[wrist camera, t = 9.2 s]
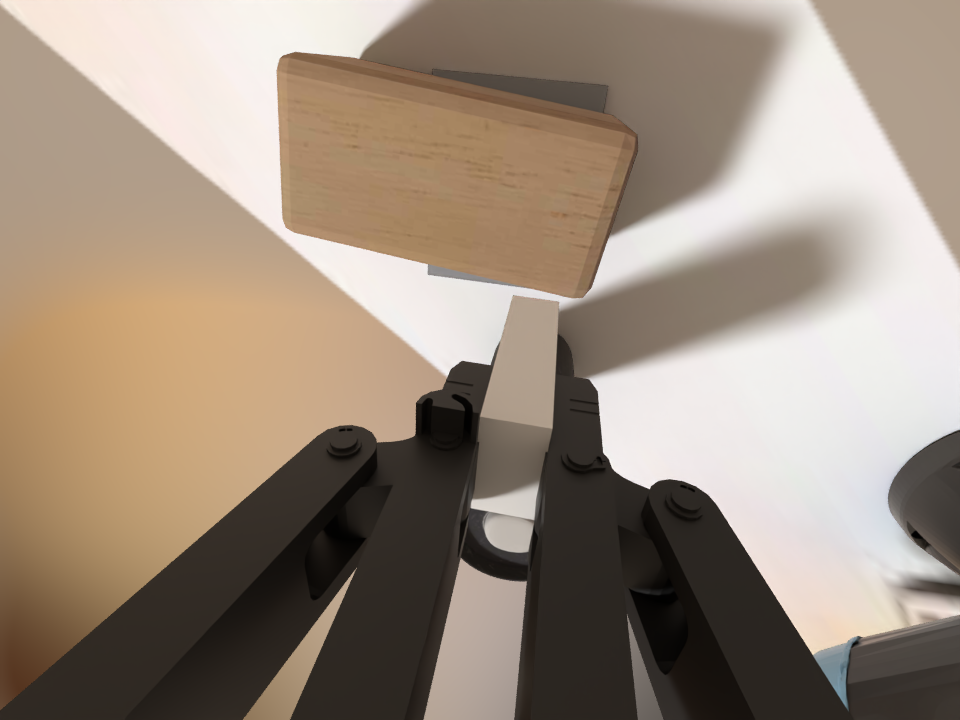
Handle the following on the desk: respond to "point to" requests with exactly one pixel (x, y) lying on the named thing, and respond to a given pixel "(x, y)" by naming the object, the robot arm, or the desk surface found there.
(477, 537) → the travel mug
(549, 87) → the mat
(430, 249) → the block
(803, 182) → the desk surface
